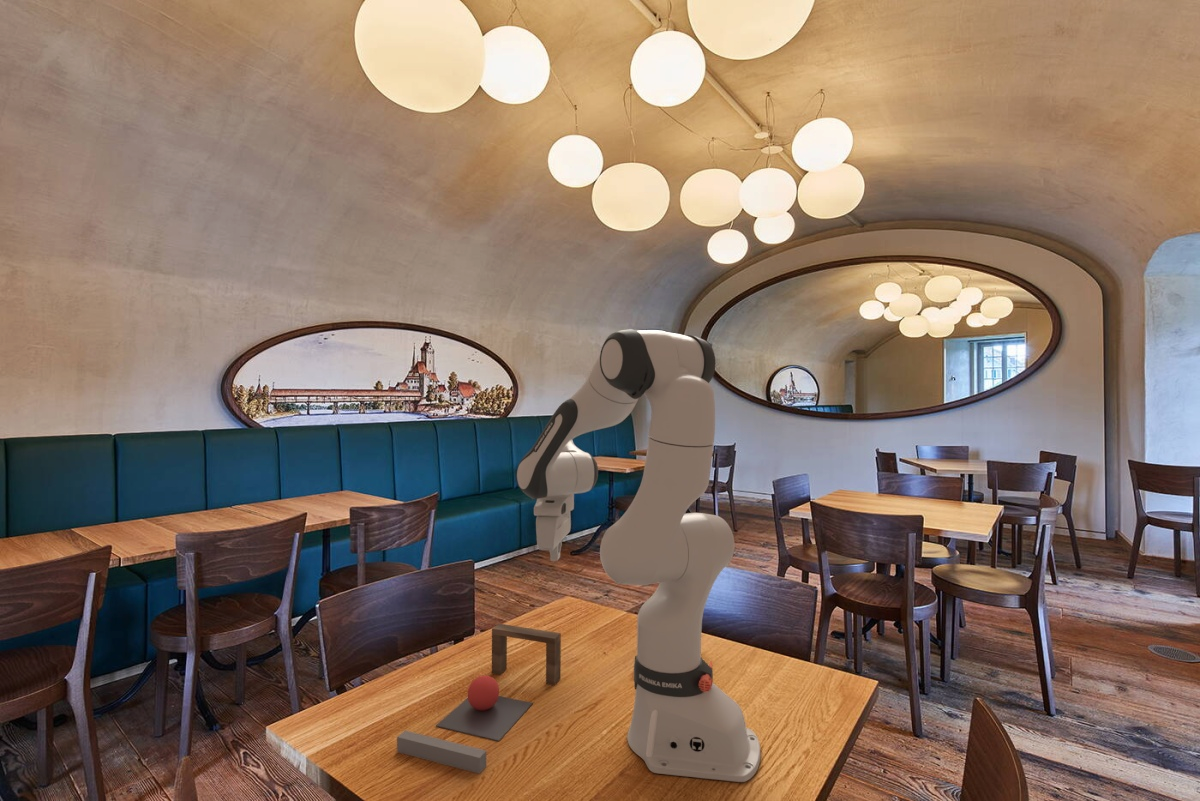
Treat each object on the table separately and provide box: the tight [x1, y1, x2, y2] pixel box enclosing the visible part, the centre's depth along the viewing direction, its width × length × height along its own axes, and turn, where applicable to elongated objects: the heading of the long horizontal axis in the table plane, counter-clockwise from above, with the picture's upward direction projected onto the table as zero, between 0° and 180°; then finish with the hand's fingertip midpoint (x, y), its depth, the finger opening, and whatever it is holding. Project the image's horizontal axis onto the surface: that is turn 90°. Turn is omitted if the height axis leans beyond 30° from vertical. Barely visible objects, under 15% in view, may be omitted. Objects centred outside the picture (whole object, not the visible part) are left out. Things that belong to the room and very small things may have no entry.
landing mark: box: [435, 695, 534, 742], centre depth 105 cm, size 13×13×1 cm
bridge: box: [491, 623, 562, 686], centre depth 120 cm, size 3×15×10 cm, turn 70°
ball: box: [466, 675, 500, 711], centre depth 107 cm, size 6×6×6 cm
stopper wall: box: [396, 730, 487, 774], centre depth 92 cm, size 16×2×2 cm, turn 70°
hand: (555, 559), depth 134 cm, fingers closed
